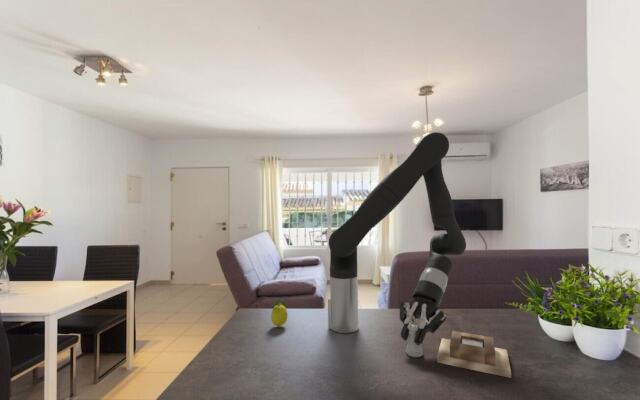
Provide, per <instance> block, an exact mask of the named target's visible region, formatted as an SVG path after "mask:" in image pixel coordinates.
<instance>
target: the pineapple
mask: <svg viewBox="0 0 640 400" xmlns="http://www.w3.org/2000/svg"><path fill="white" fill-rule="evenodd" d="M286 307H287V305H286V302H285V301H280V299H278V300H277V301H275V302H274V304H273V308H272V310H271V313H270V321H271V323H272V324H273V325H274V326H277V327H278V328H281V327H282V326H283V325H284V324H286V323H287V321H288V310H287V308H286Z"/></svg>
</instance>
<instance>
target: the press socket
mask: <svg viewBox="0 0 640 400" xmlns="http://www.w3.org/2000/svg"><path fill="white" fill-rule="evenodd" d="M450 336H451V337H450V338H449V339H448V338H443V337H442V338H441V341H440V345H439V348H438V350H437V351H438V352H437V356H436V362H437V363H438V364H444V365H449V366H453V367H457V368H463V369H467V370H471V371H477V372H482V373H486V374H490V375H496V376H501V377H504V378H510V379H512V370H511V364H510V360H509V355H508V350H507V348H500V347H495V342H494V341H495V339H494V337H493V336H486V335H480V334H475V333H468V332H461V331H456V330H452V331H451V335H450ZM462 338H464V339H470V340H476V341H482V342H483V347H478V346H473V345H467V344H462Z"/></svg>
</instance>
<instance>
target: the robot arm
mask: <svg viewBox="0 0 640 400" xmlns="http://www.w3.org/2000/svg"><path fill="white" fill-rule="evenodd" d="M449 148H450V142H449V139H448V136H446V135H445V134H444V133H442V132H439V131H438V132H437V131H436V132H435V131H434V132H429V133H427V134H425V135H424V136H422V137H421V138H420V139H419V141H418V142H417V144H416V146H415V148H414V149H413V151H411V153H410V154H409V156H408V157H407V158H406V159H404V161H403V162H401V163H400V164H399V165H398V166H396V168H394V169H393V170H392V171H391V172H389V173H388V174H387V175H385V177H384V178H383V179H382V180H381V181H379V183H378V184H377V185H376V186H375V187H374V188H373V189H372V190H371V191H370V193H369V194H368V195H367V196H366V197H365V199H364V200H363V202H362V203H361V204H360V206H359V207H358V208H357V210H356V211H355V213H354V214H353V215H352V216H350V218H348V219H347V220H346V221H345V222H344V223H343V224H341V226H339V227H338V228H336V229H335V230H334V231H333V232H331V234H330V235H329V239H328V247H329V250H330V253H329V255H330V256H329V257H330V261H329V297H330V298H328V299H327V324H328V325H327V327H328V329H329V330H332V331H333V332H335V333H338V334H339V333H340V334H351V333H354V332H357V331H358V330H359V292H358V291H359V290H358V289H359V287H358V286H359V284H358V281H359V280H358V246H359V245H360V243H361V242H362V241H363V240H364V239H365V237H366V236H367V235H368V233H369V232H370V231H371V230H372V229H373V228H375V226H377V225H378V224H380V222H382V221H383V220H384V219H385V218H386V217H387V216H389V214H390V213H391V212H392V211H393V210H394V209H395V208H396V207H398V205H399V204H400V203H401V202H402V201H403V200H404V199H405V197H406V196H407V195H408V194H409V193H410V192H411V191H412V190H413V188H414V187H415V186H416V184H417V183H418V181H420V179H422V177H423V180H424V184H425V189H426V194H427V199H428V206H429V210H430V211H429V212H430V216H431V221H432V222H431V223H432V225H433V226H435V227H439V228H442V229H444V230H445V232H446V233H443V232H442V233H436V234H434V235H433V236H432V238H431V239H430V243H429V253H428V254H429V255H428V261H427V263H426V265H425V268H424V270H423V271H422V273H421V274H420V277H419V278H418V282H417V284H416V287H415V289H414V292H413V293H412V294H413V295H412V298H411V299H410V300H409V302H404V301H403V300H402V301H400V303H399V320H400V322H401V323H402V324H403V326H402V329H401V331H400V337H401V339H402V340H403V341H405V342H407V341H408V339H409V333H408V332H409V329H408V325H409V323H411V322H413V324H415V323H417V321H418V320H419V319H420V324H419V327H420V329H419V328H418V331H417V334H416V336H415V339H414V342H415V344H416V345H422V343H423V342H424V339H425V337H426V334H427V333H431V334H435V332H436V331H437V330H438V329H439V328H440V326H442V325H443V323H444V322H446V320H447V316H446V314H445V313H444V311H442V310H440V309H439V306H440V305H441V302H442V300H443V296H444V294H445V292H446V288H447V285H448V280H449V277H450V275H451V272H452V269H453V262H452V259H450V258H449V257H448V256H461V255H463V254H464V253H465V251H466V248H467V241H466V238H465V236H464V234H463V232H462V229H461V228H460V226H459V223H458V221H457V220H456V216H455V210H454V204H453V200H452V197H451V193H450V191H449V189H448V185H447V183H446V181H445V178H444V174H443V168H442V165H443V164H442V160H443V159H444V158H445V157H446V155H447V154H448V152H449ZM409 308H410V309H409ZM408 311H409V312H408Z"/></svg>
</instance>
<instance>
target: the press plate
mask: <svg viewBox="0 0 640 400" xmlns="http://www.w3.org/2000/svg"><path fill="white" fill-rule="evenodd" d="M462 344H467V345H473V346H478V347H483V342H482V341H476V340H470V339H464V338H462Z"/></svg>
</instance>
